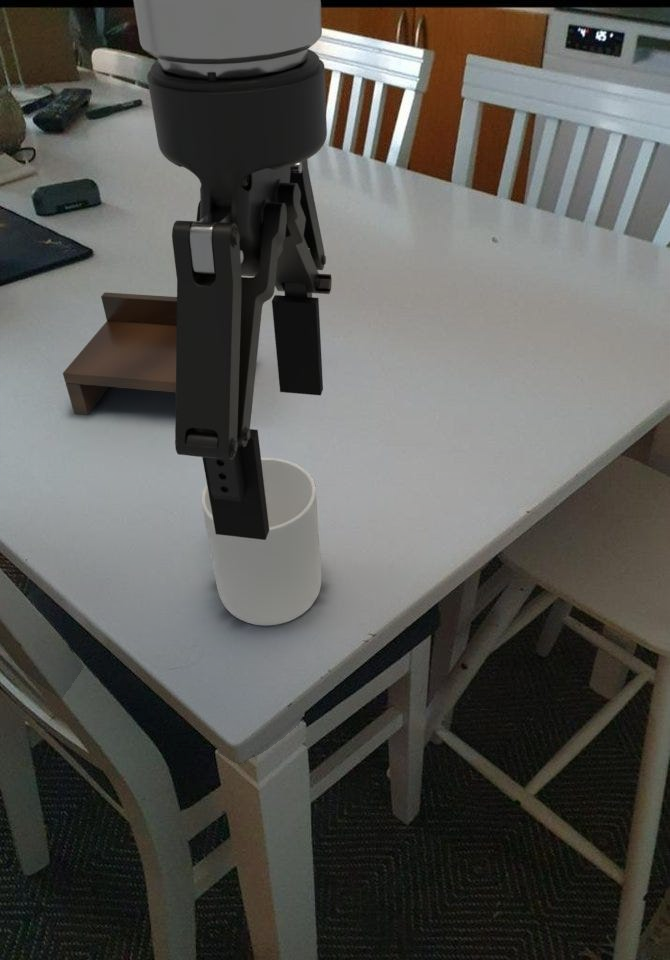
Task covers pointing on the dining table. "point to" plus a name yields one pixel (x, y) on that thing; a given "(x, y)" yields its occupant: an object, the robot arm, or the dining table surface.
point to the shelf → (126, 350)
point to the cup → (271, 551)
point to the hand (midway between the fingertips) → (275, 454)
